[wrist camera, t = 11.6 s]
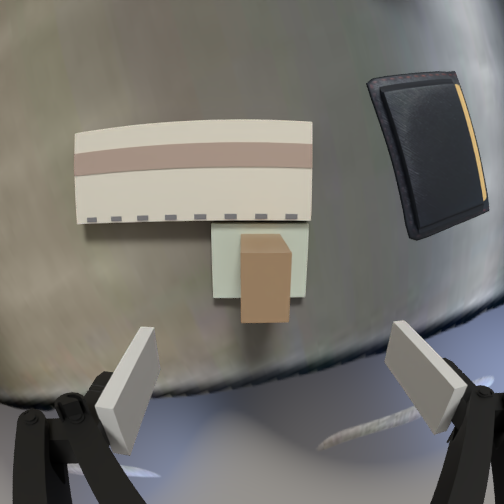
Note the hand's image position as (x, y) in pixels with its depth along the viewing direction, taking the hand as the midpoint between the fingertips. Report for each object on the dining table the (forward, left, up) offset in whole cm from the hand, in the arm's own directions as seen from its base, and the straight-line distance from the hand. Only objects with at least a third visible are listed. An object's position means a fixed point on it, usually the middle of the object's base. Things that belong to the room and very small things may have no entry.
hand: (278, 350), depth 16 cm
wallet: (+22, +13, -20) cm, 32 cm away
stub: (0, 0, -19) cm, 19 cm away
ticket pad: (-7, +9, -19) cm, 22 cm away
